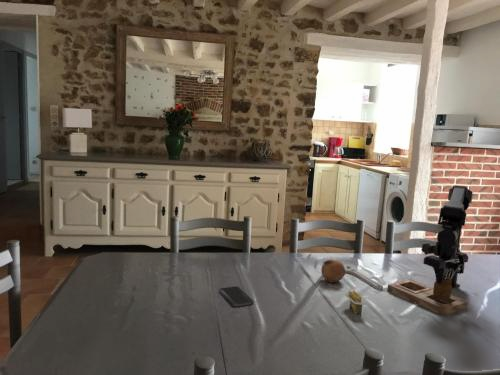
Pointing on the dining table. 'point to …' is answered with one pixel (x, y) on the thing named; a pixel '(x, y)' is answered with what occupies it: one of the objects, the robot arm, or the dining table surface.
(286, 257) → the dining table surface
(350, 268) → the adjustable wrench
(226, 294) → the phone
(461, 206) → the robot arm
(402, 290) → the double window frame
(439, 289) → the utensil holder
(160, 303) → the dining table surface
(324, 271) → the onion
